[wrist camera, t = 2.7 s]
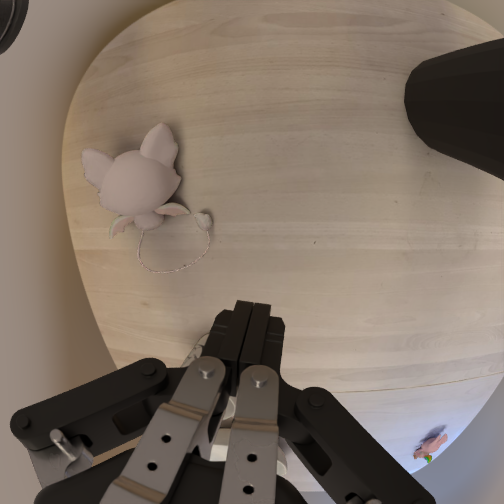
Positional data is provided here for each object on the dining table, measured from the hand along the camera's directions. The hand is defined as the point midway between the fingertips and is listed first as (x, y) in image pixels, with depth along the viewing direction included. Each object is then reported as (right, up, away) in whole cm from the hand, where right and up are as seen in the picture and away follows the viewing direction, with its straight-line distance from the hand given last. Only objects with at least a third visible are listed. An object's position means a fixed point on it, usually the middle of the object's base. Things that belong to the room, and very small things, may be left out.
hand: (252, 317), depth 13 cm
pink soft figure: (+40, -40, +34) cm, 66 cm away
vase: (+20, +18, +9) cm, 28 cm away
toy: (-10, +10, +18) cm, 23 cm away
